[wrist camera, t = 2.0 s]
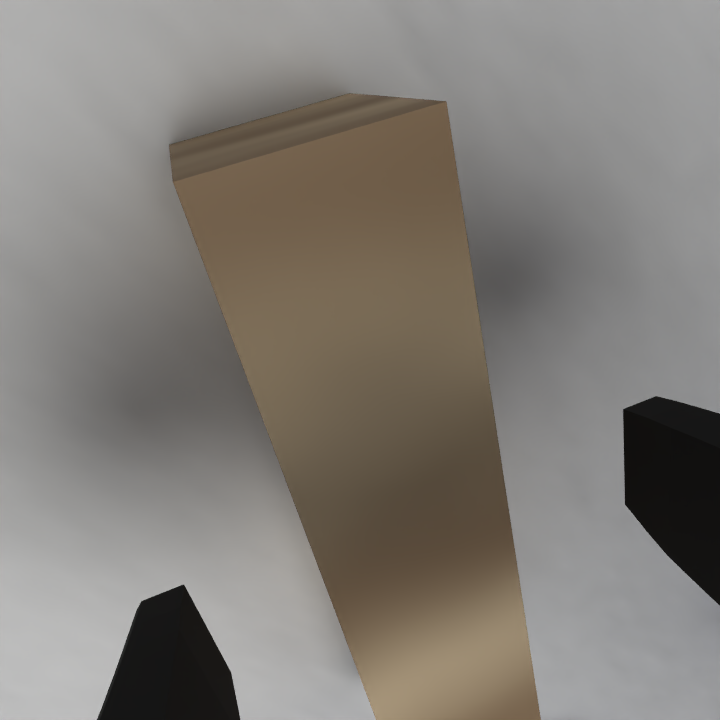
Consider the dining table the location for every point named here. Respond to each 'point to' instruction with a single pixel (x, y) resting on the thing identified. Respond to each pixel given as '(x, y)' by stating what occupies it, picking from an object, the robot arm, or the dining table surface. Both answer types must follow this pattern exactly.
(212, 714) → the robot arm
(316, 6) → the dining table surface
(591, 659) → the dining table surface
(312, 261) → the rail
